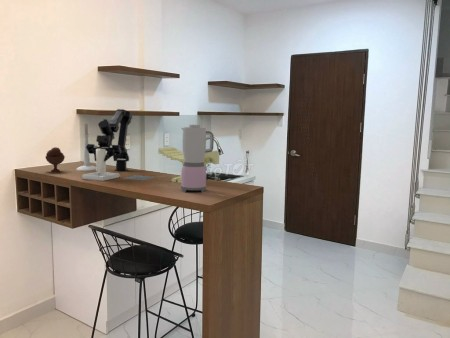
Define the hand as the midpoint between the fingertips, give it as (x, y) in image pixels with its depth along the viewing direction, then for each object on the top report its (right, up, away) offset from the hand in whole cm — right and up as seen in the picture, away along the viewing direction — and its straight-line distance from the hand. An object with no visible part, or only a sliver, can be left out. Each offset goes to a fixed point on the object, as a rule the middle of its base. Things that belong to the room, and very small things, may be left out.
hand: (99, 160), depth 204 cm
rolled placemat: (0, -6, +2) cm, 7 cm away
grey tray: (0, -10, +3) cm, 10 cm away
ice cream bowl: (-35, -6, +23) cm, 42 cm away
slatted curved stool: (+49, -11, +4) cm, 50 cm away
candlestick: (-20, -5, +34) cm, 40 cm away
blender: (+55, -15, -22) cm, 62 cm away
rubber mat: (+21, -10, +6) cm, 24 cm away
